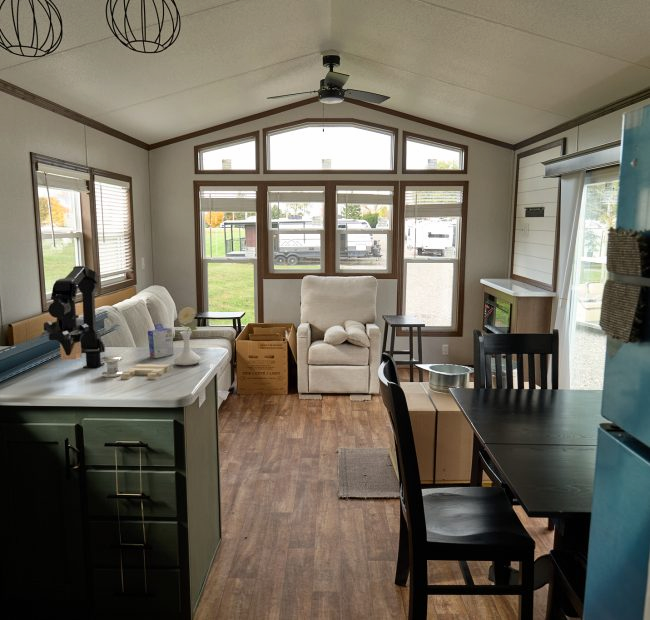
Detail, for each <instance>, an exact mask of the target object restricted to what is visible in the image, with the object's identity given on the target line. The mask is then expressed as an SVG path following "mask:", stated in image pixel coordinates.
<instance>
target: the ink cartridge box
mask: <svg viewBox="0 0 650 620" xmlns="http://www.w3.org/2000/svg"><path fill="white" fill-rule="evenodd" d="M147 337H148V340H147V341H148V349H149V358H153V359H156V358H163V357H169V356H173V355H175V352H174V339H173V328H169V327H164V326H163V324H162V323H158V324H157V323H156V324H154V329H151V330H148V331H147Z"/></svg>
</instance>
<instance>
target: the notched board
mask: <svg viewBox="0 0 650 620" xmlns="http://www.w3.org/2000/svg"><path fill="white" fill-rule="evenodd" d="M171 365H172V364H171V363H169V364H167V363H163V364H162V363H161V364H160V363H154V364H153V363H152V364H151V363H137V364H135V365H133V366H132V367H130V368H128V369H127V370H125V371H123V373H121V376H120V380H130V379H132V378H134V377H135V376H147V380H158V378H161V376H163V375H165V374H166V373H167V372H169V371H170V370H171V367H172V366H171Z"/></svg>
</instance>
